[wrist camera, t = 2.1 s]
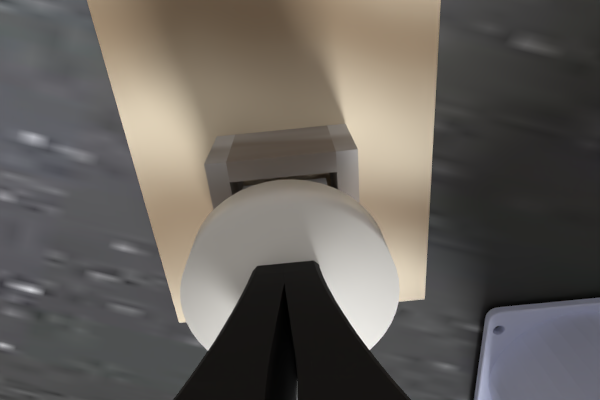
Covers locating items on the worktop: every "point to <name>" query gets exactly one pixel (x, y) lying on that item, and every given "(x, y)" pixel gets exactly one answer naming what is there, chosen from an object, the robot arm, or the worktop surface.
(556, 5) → the worktop surface
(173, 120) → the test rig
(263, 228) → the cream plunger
